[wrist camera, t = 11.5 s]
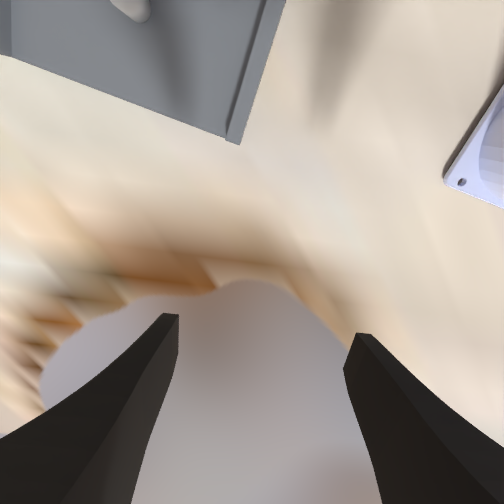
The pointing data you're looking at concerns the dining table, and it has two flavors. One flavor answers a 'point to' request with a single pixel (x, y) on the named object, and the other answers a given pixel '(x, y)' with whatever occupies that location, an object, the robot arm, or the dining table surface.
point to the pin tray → (153, 52)
